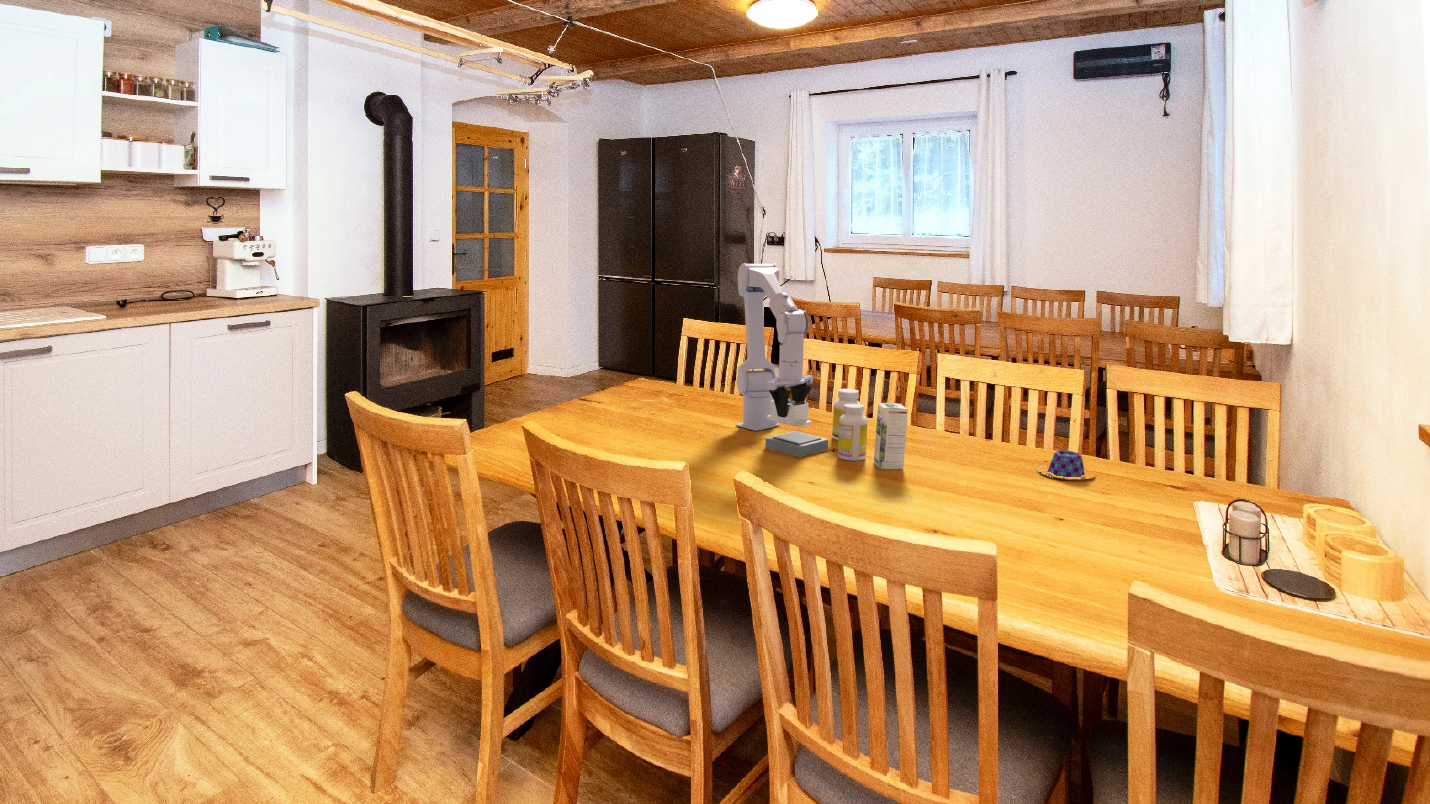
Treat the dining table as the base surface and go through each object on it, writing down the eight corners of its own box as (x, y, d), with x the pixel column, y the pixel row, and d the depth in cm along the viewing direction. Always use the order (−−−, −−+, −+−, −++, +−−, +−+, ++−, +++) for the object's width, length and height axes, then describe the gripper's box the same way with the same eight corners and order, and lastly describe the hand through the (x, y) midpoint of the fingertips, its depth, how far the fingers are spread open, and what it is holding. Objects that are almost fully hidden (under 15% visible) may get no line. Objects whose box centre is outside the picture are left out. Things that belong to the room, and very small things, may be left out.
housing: (778, 416, 213) (779, 395, 212) (812, 424, 205) (813, 402, 204) (765, 419, 210) (765, 397, 209) (799, 427, 202) (800, 404, 201)
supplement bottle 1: (841, 443, 214) (844, 394, 211) (826, 436, 220) (829, 388, 218) (865, 440, 217) (867, 392, 214) (849, 434, 223) (852, 386, 221)
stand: (794, 440, 216) (795, 429, 216) (828, 449, 209) (828, 438, 208) (765, 447, 209) (765, 436, 208) (798, 457, 201) (799, 445, 201)
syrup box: (872, 462, 198) (876, 402, 194) (897, 462, 198) (901, 402, 195) (879, 469, 192) (883, 408, 189) (904, 469, 193) (908, 408, 189)
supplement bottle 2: (862, 453, 205) (865, 402, 202) (868, 461, 198) (871, 408, 196) (835, 453, 205) (837, 402, 202) (840, 461, 198) (842, 408, 195)
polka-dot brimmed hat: (1031, 466, 197) (1033, 445, 196) (1084, 469, 196) (1086, 447, 195) (1045, 482, 186) (1048, 459, 185) (1102, 484, 185) (1104, 461, 184)
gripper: (782, 366, 197) (781, 422, 200) (823, 359, 206) (820, 413, 209) (761, 362, 202) (759, 417, 205) (801, 356, 211) (799, 408, 214)
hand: (789, 415), depth 207 cm, fingers closed on housing, 5 cm apart
